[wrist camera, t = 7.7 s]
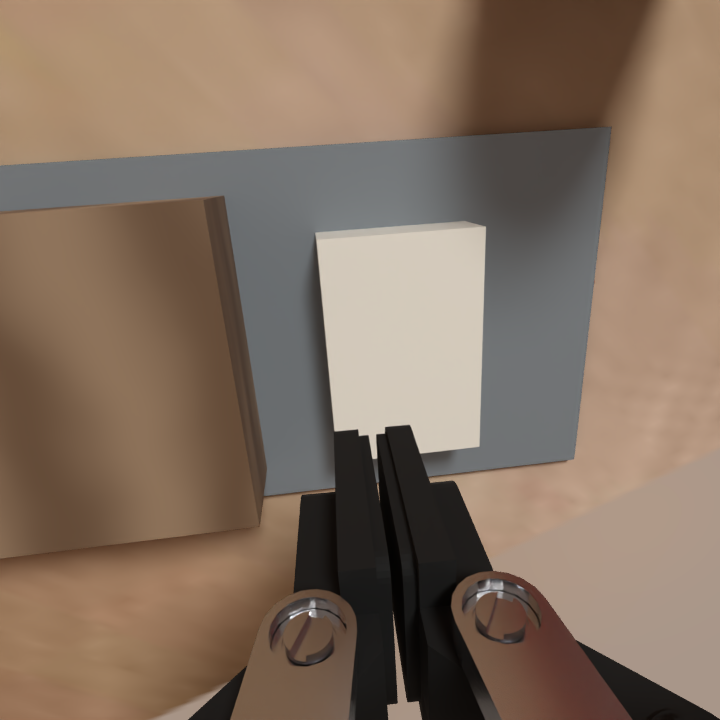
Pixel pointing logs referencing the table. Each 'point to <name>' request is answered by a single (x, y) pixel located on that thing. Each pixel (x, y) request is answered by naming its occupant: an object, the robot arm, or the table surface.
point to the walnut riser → (123, 377)
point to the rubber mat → (375, 210)
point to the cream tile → (405, 330)
